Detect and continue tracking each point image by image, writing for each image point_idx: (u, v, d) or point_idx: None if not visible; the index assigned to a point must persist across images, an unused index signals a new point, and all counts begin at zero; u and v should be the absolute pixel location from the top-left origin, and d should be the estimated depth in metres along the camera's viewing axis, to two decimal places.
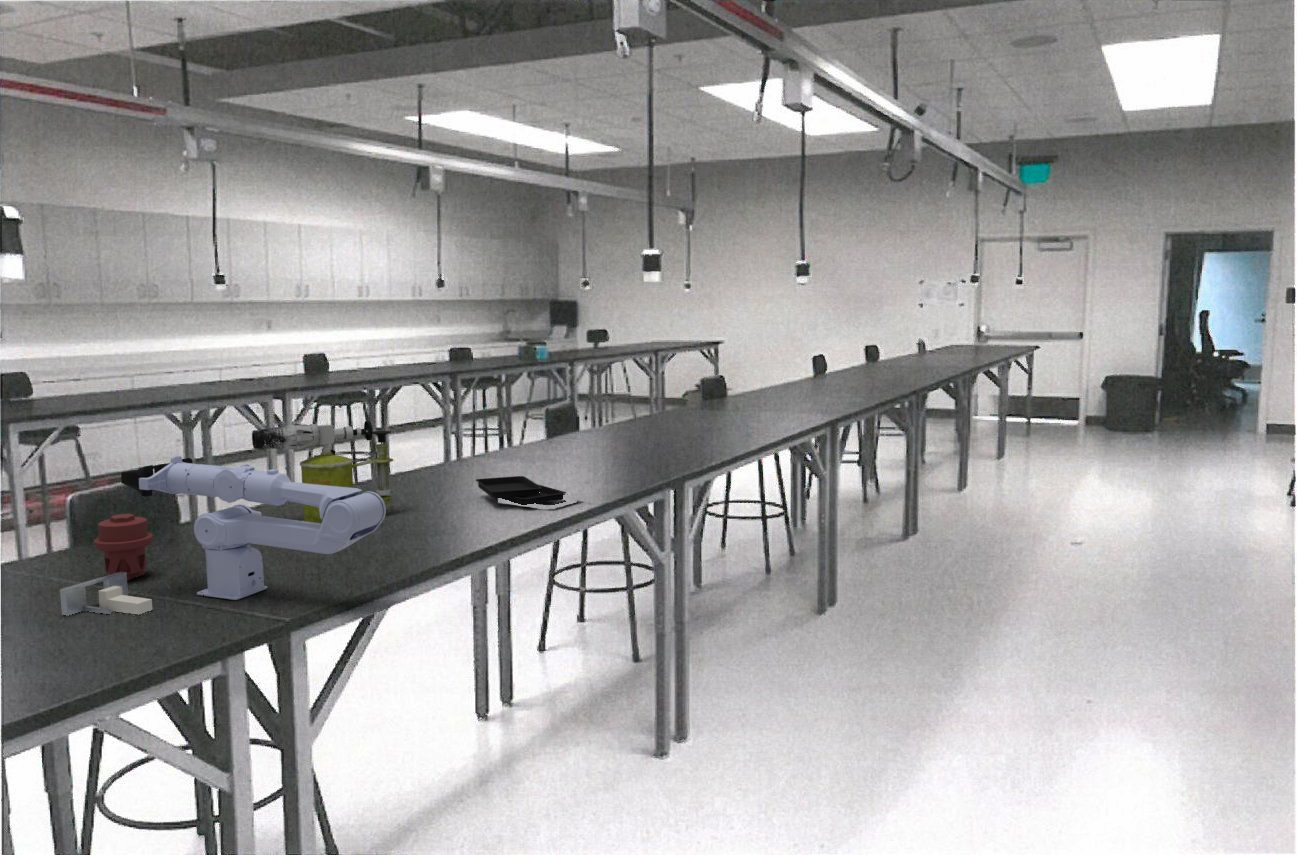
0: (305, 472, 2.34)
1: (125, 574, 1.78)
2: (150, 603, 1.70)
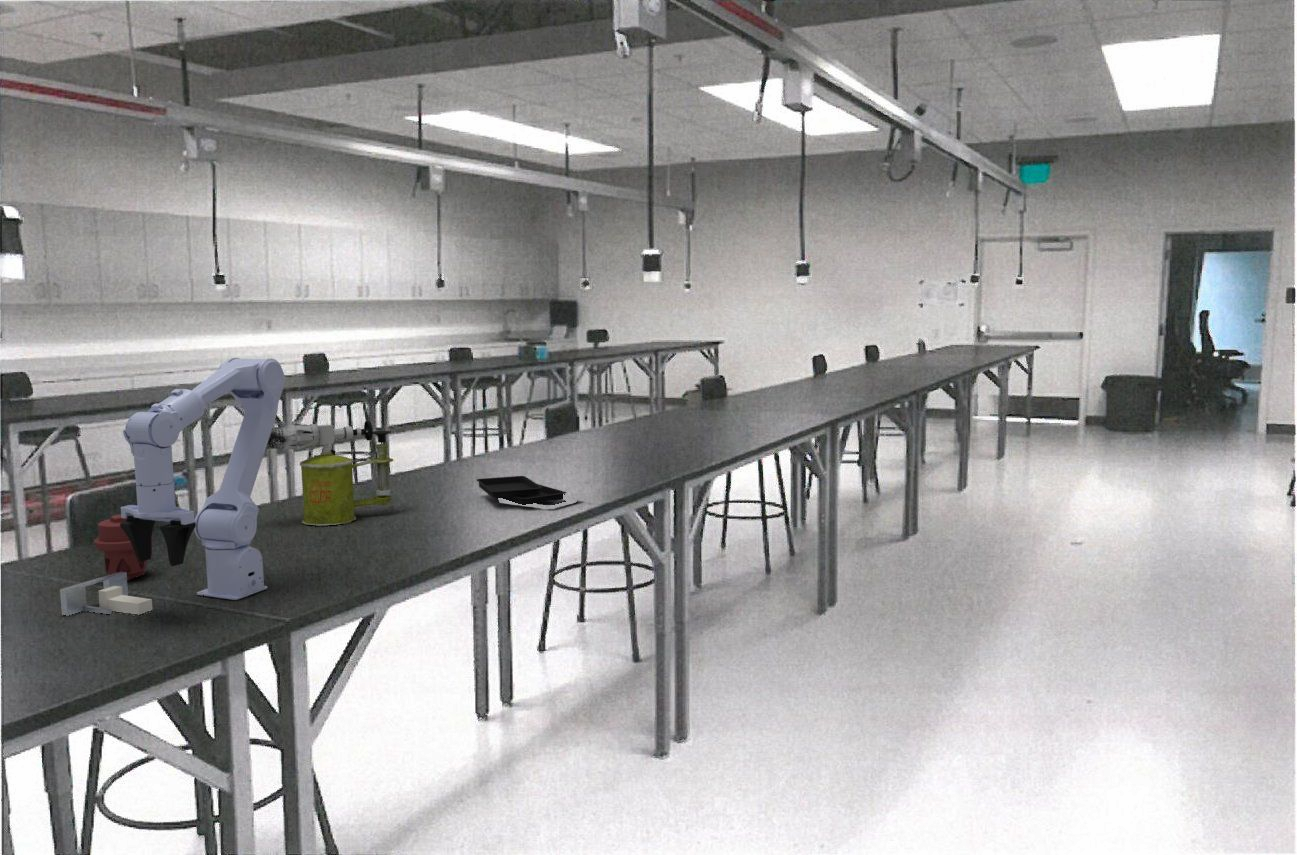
0: (305, 472, 2.34)
1: (125, 574, 1.78)
2: (150, 603, 1.70)
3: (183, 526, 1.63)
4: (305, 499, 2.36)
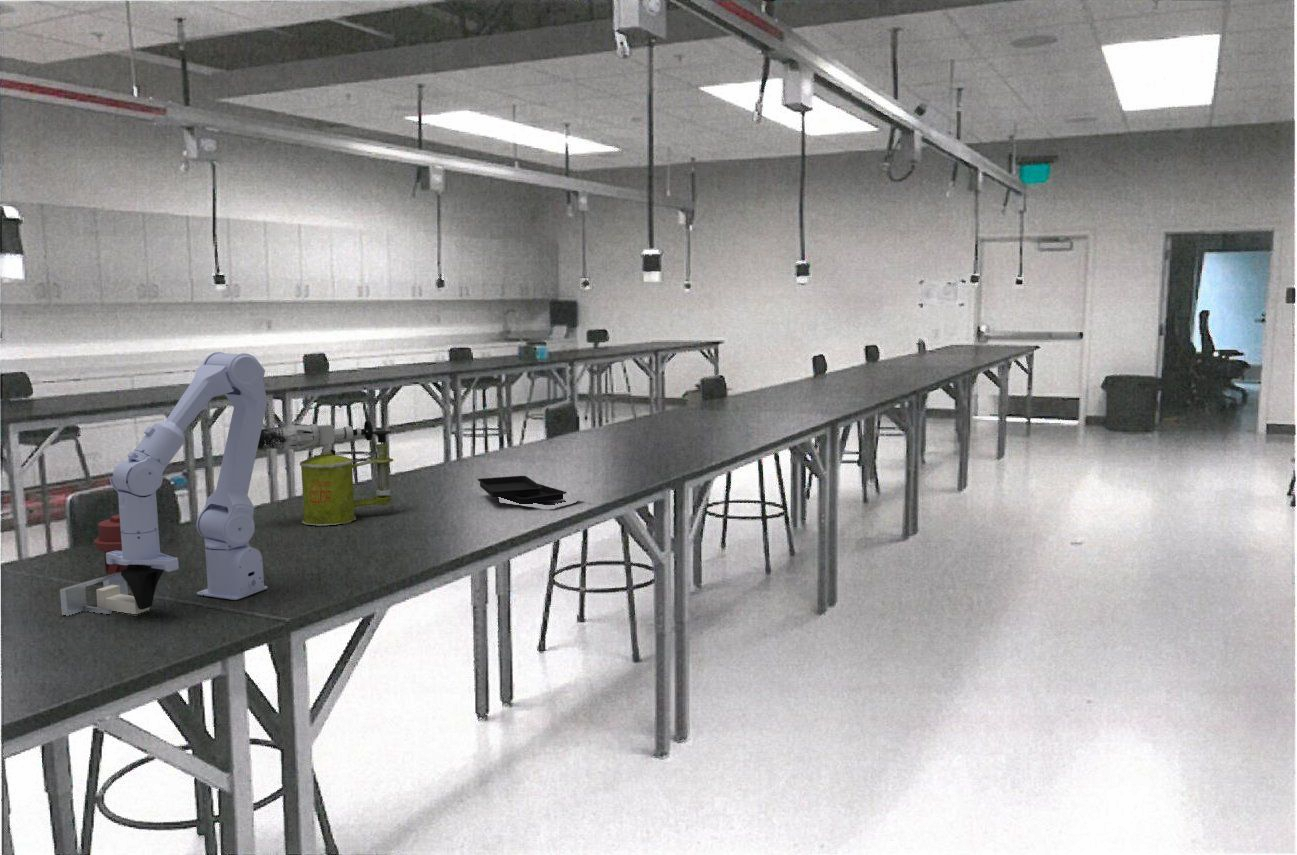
0: (305, 472, 2.34)
1: None
2: None
3: (151, 571, 1.67)
4: (305, 499, 2.36)
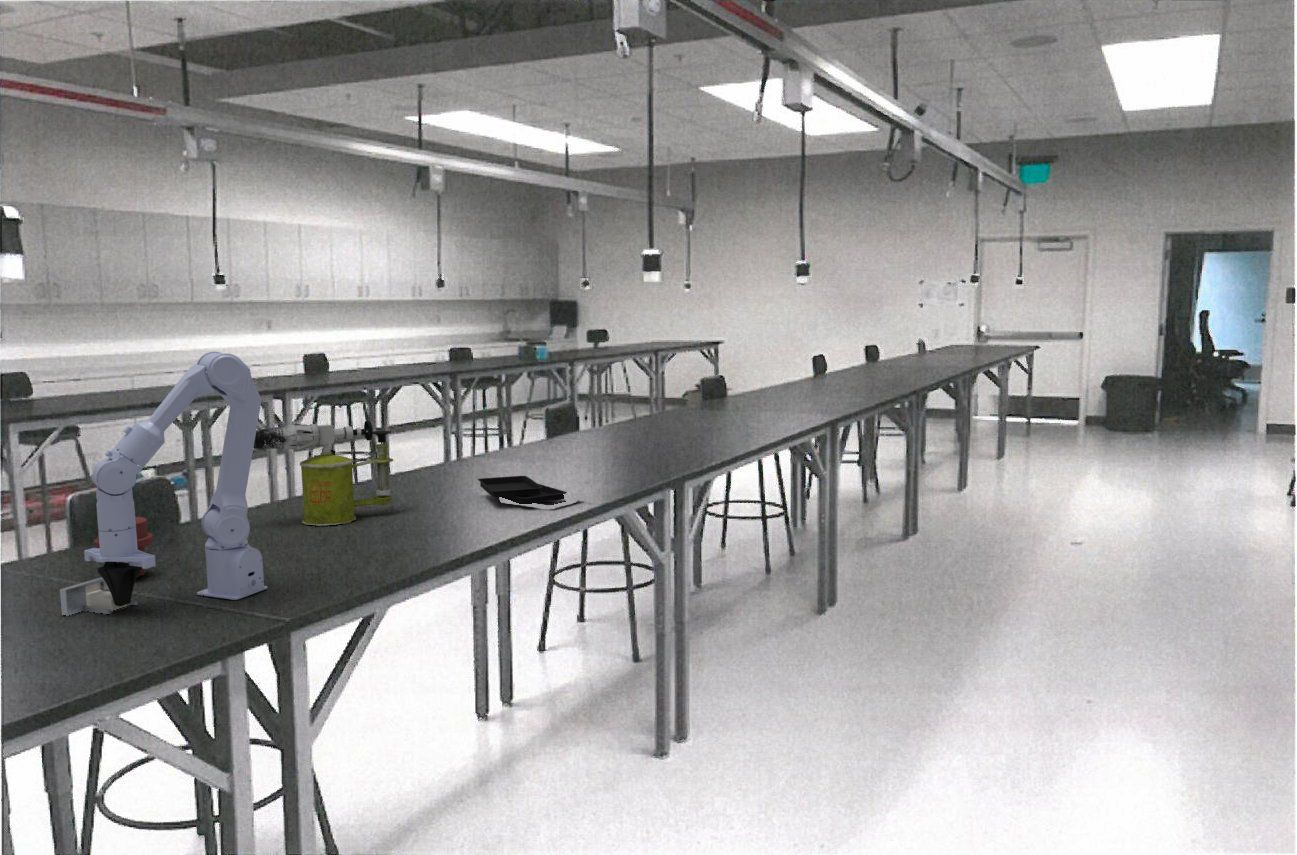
0: (305, 472, 2.34)
1: None
2: None
3: (129, 568, 1.69)
4: (305, 499, 2.36)
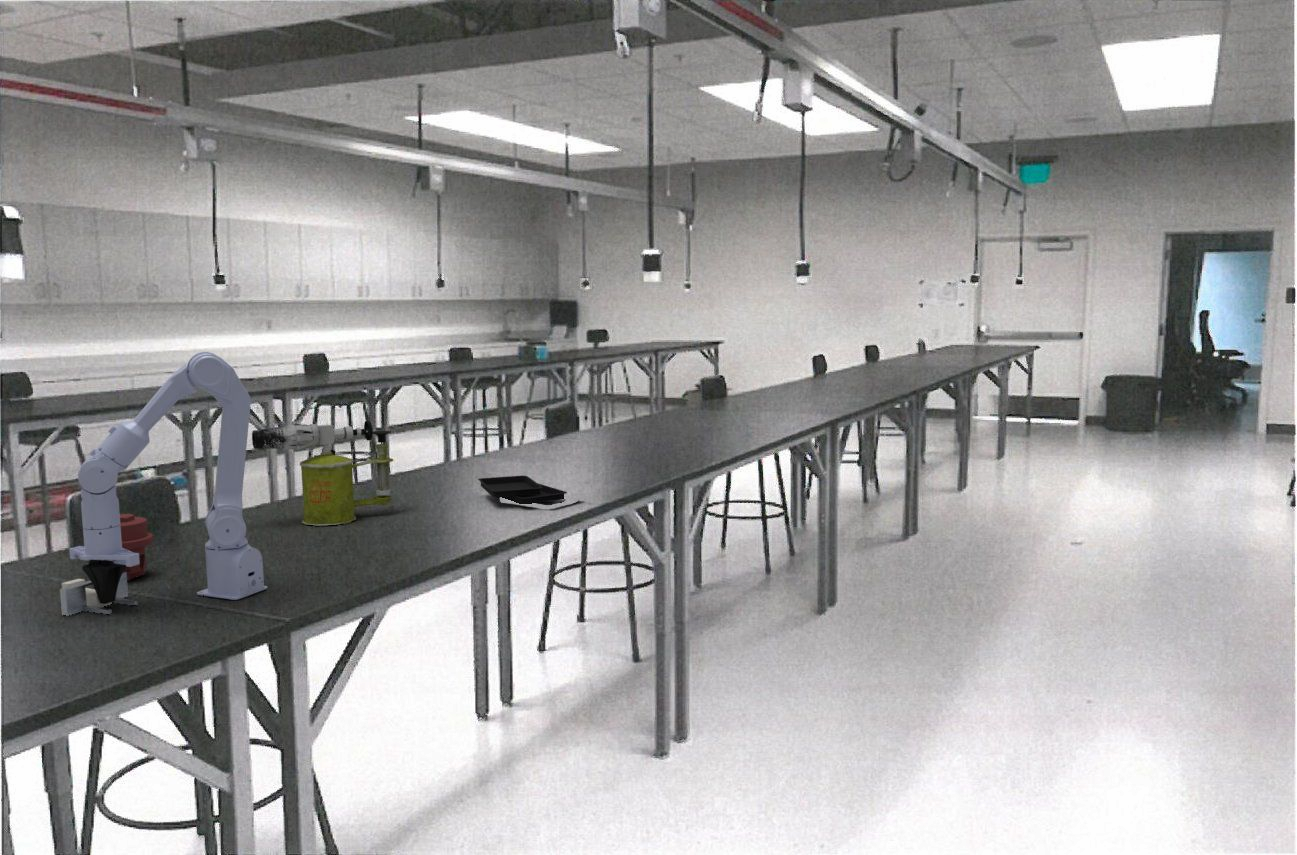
0: (305, 472, 2.34)
1: (125, 574, 1.78)
2: None
3: (114, 566, 1.70)
4: (305, 499, 2.36)
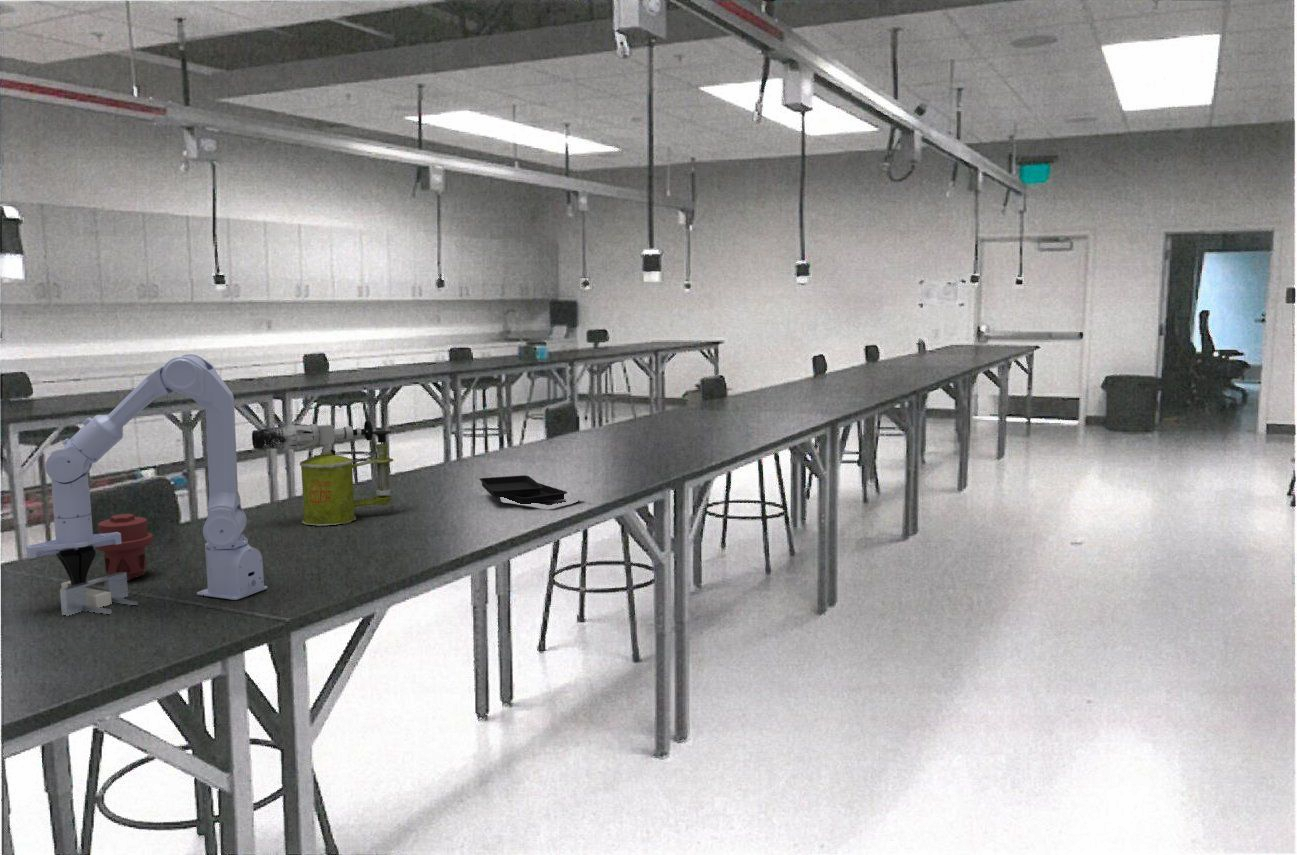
0: (305, 472, 2.34)
1: (125, 574, 1.78)
2: (109, 596, 1.74)
3: None
4: (305, 499, 2.36)
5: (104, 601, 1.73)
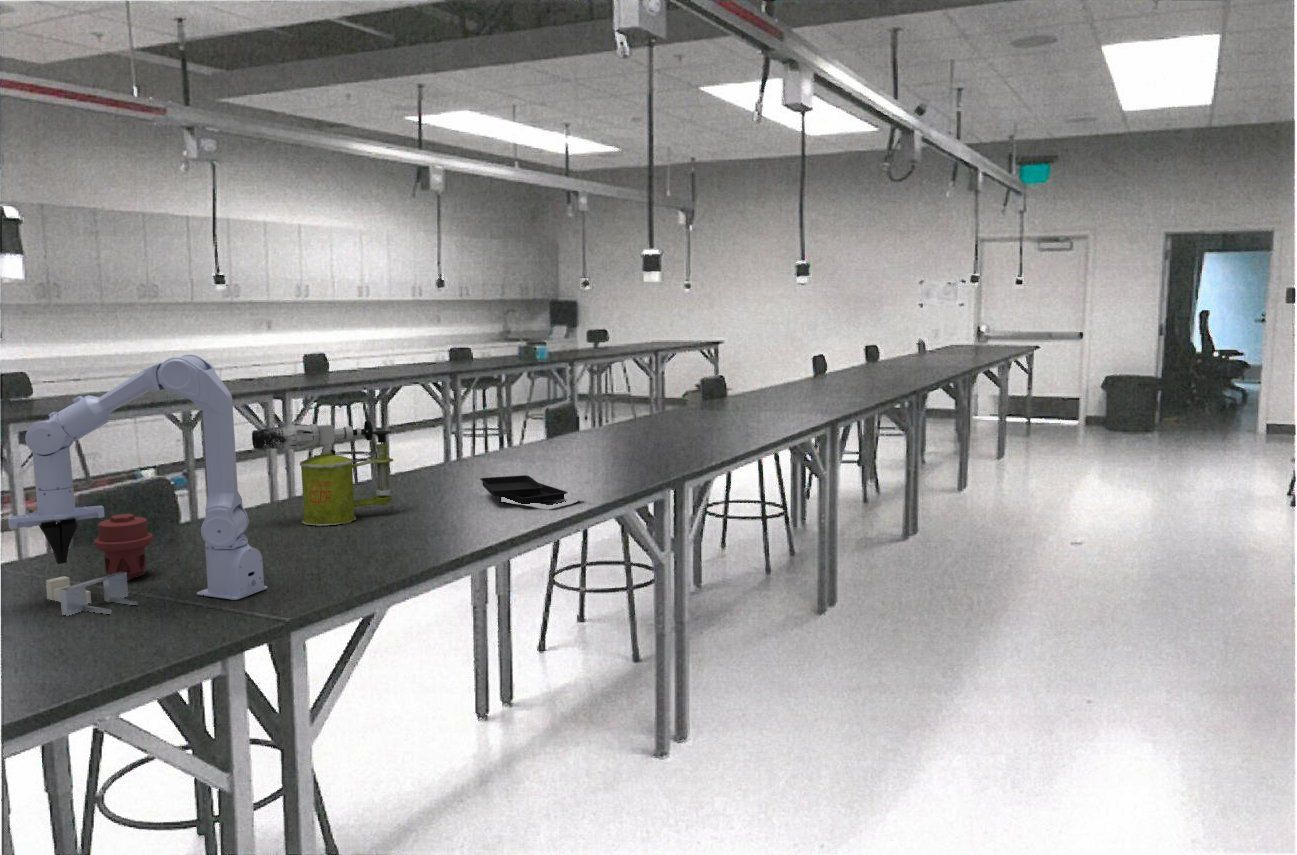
0: (305, 472, 2.34)
1: (125, 574, 1.78)
2: (89, 595, 1.75)
3: None
4: (305, 499, 2.36)
5: None
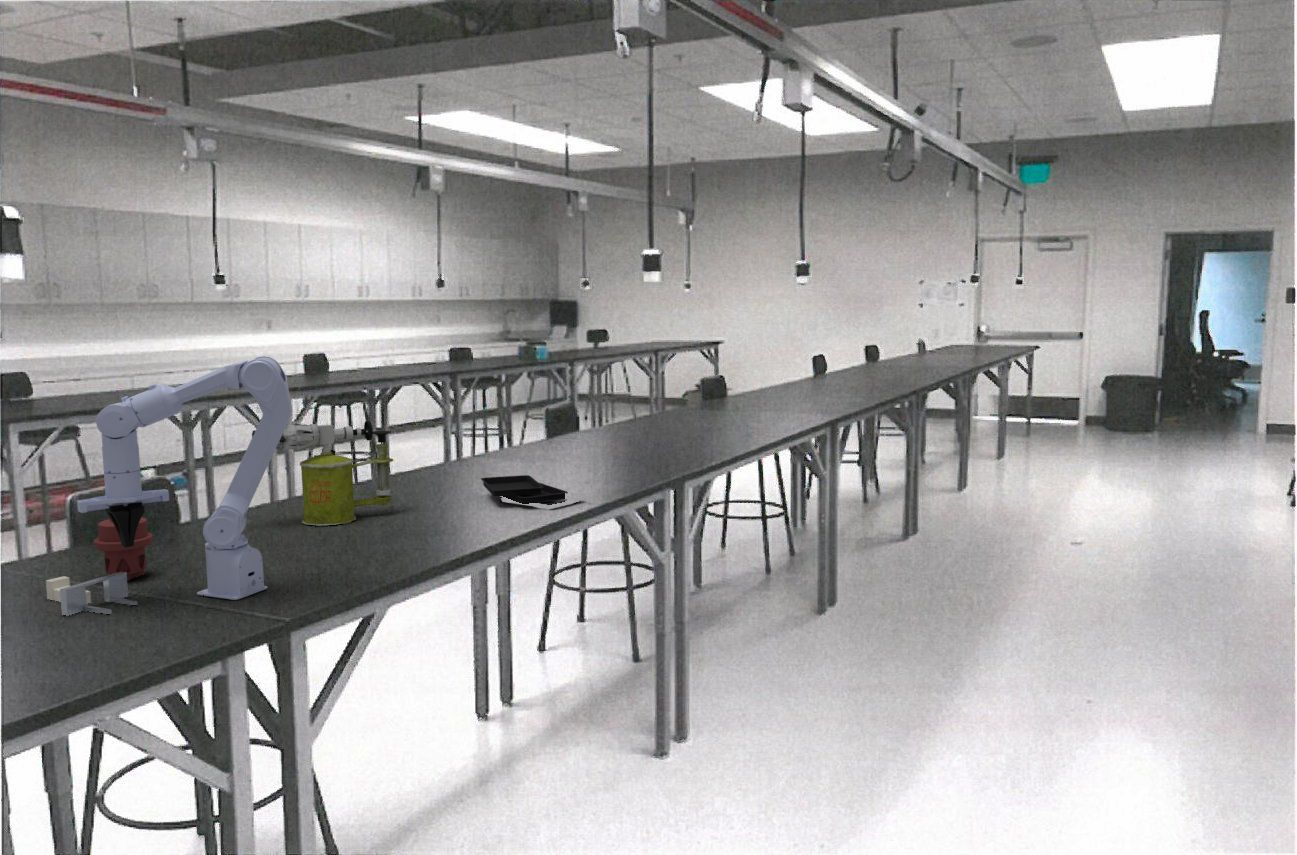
0: (305, 472, 2.34)
1: (125, 574, 1.78)
2: (89, 595, 1.75)
3: None
4: (305, 499, 2.36)
5: None
